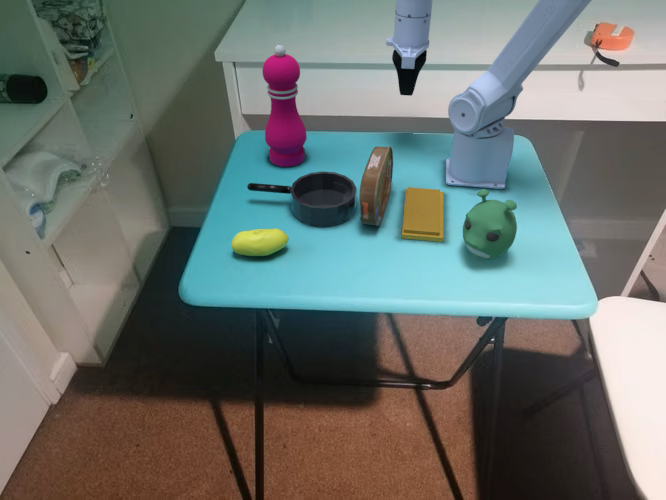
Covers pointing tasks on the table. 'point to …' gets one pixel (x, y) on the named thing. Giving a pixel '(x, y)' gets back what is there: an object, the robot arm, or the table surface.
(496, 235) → the alien toy
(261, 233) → the lemon
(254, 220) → the table surface
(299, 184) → the pan
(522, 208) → the table surface
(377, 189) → the tin
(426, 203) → the yellow flat slab
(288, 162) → the pepper mill
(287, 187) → the pan handle
